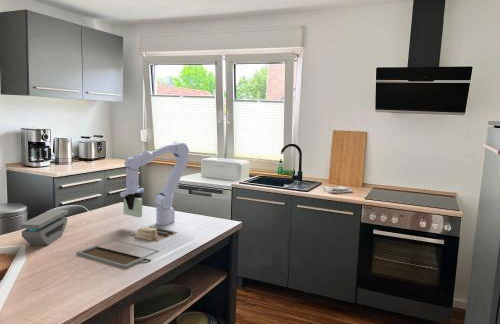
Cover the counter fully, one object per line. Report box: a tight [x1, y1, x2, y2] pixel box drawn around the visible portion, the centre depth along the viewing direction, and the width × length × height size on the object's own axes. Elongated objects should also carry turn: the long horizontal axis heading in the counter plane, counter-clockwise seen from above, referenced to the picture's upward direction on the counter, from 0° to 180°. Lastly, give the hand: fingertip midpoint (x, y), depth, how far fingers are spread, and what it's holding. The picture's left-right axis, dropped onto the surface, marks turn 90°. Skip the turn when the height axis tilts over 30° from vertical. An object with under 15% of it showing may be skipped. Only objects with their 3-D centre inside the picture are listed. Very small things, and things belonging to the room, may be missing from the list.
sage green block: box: [122, 197, 143, 218], centre depth 188 cm, size 2×10×9 cm, turn 64°
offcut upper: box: [137, 226, 157, 235], centre depth 174 cm, size 4×8×2 cm, turn 70°
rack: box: [129, 226, 179, 243], centre depth 180 cm, size 16×16×2 cm
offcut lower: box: [134, 231, 158, 241], centre depth 175 cm, size 5×9×2 cm, turn 64°
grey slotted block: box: [19, 208, 69, 246], centre depth 169 cm, size 25×8×11 cm, turn 0°
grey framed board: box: [75, 239, 160, 270], centre depth 156 cm, size 19×2×30 cm
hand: (132, 208), depth 188 cm, fingers closed on sage green block, 2 cm apart
